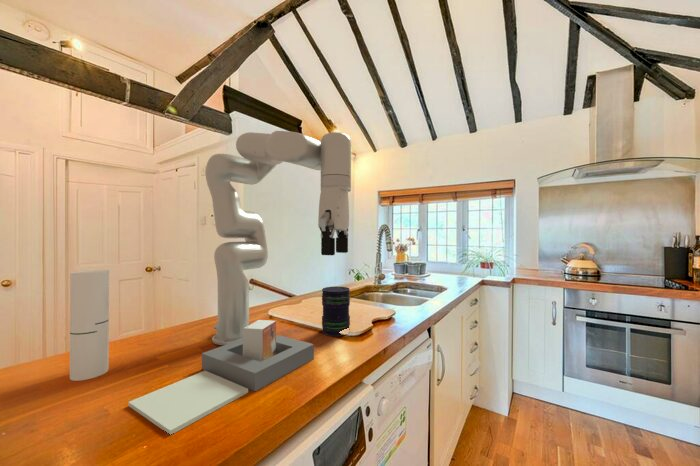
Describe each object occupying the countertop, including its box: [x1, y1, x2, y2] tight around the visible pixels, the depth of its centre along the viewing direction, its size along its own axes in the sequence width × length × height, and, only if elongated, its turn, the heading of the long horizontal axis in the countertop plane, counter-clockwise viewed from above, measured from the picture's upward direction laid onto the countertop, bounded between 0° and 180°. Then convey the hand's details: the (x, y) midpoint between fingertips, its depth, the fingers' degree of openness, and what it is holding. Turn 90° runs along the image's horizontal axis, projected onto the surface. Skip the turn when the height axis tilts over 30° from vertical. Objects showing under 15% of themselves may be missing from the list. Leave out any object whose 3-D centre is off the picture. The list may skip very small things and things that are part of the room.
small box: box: [243, 319, 277, 362], centre depth 78 cm, size 8×6×10 cm
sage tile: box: [128, 370, 249, 436], centre depth 61 cm, size 16×16×1 cm
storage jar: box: [321, 286, 351, 337], centre depth 104 cm, size 10×10×15 cm
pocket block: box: [201, 334, 315, 392], centre depth 78 cm, size 20×20×4 cm
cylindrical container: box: [69, 269, 110, 382], centre depth 72 cm, size 7×7×25 cm
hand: (335, 253), depth 73 cm, fingers open, 9 cm apart
